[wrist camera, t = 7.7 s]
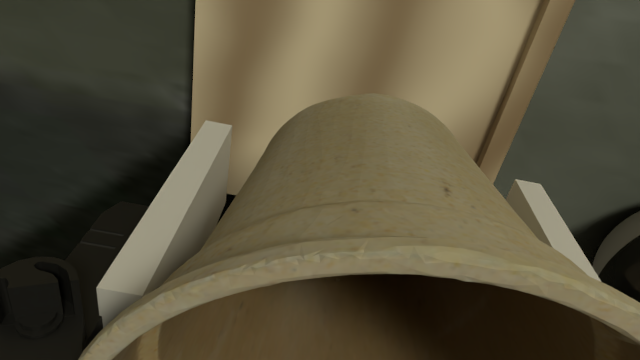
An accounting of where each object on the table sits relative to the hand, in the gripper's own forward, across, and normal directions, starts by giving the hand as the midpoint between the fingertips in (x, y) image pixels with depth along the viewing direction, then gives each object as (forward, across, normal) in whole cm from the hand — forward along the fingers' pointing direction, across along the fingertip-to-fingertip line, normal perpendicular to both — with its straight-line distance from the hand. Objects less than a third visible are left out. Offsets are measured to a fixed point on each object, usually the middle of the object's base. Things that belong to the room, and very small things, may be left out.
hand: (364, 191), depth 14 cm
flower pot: (+1, 0, 0) cm, 1 cm away
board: (+12, 0, 0) cm, 12 cm away
